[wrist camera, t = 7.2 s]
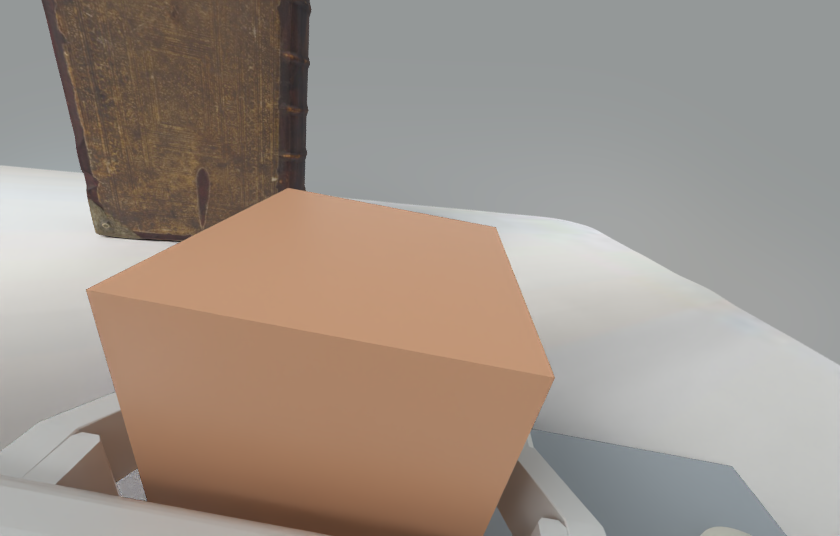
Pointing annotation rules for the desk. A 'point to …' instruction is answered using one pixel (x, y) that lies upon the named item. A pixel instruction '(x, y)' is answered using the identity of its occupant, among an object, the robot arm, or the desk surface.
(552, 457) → the board
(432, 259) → the block
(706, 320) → the desk surface
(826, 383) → the desk surface
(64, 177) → the desk surface
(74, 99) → the book
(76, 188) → the desk surface
